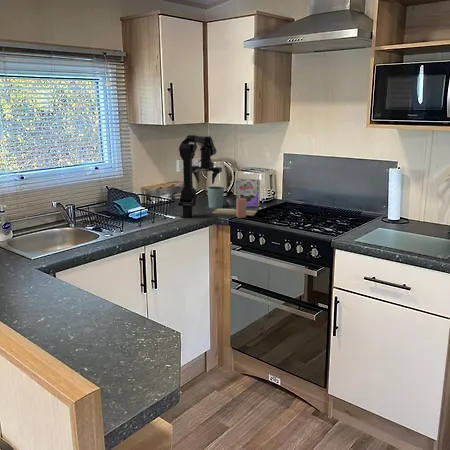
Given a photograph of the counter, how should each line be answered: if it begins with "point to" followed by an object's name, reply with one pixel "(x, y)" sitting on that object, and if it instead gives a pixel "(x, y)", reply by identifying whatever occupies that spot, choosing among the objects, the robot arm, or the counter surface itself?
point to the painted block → (241, 207)
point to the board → (233, 211)
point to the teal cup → (215, 196)
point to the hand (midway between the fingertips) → (205, 183)
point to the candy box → (248, 191)
